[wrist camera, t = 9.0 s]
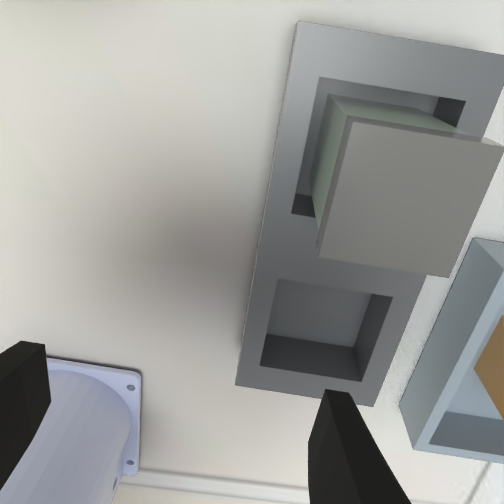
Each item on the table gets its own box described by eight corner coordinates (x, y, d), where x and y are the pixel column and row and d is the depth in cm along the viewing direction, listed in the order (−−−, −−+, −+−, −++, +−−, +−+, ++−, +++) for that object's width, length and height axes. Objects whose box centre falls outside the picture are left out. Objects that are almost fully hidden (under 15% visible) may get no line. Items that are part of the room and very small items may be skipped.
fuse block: (362, 364, 23) (373, 407, 20) (240, 345, 23) (234, 385, 20) (475, 53, 16) (515, 56, 13) (295, 23, 16) (298, 20, 13)
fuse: (391, 195, 18) (448, 278, 12) (306, 181, 18) (318, 256, 12) (420, 105, 16) (506, 147, 10) (325, 90, 16) (352, 122, 10)
